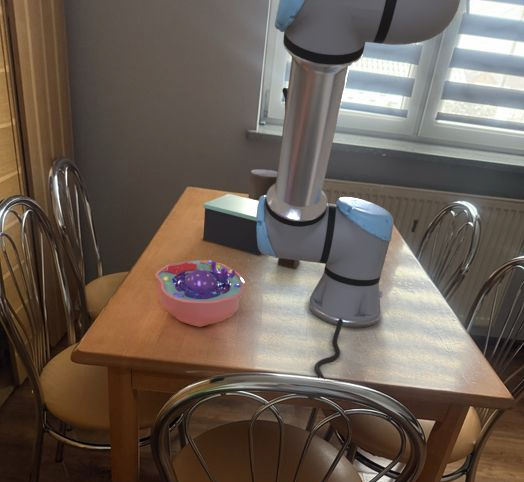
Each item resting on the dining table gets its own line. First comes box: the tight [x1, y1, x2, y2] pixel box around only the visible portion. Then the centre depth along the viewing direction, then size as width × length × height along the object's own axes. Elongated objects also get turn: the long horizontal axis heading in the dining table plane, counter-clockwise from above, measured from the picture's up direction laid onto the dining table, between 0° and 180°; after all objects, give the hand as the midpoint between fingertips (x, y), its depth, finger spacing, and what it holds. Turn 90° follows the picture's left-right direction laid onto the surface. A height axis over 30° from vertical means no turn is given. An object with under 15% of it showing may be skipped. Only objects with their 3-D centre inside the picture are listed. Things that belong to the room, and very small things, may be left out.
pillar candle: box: [247, 169, 278, 201], centre depth 159 cm, size 10×10×15 cm
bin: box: [202, 208, 262, 256], centre depth 139 cm, size 14×17×9 cm
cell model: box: [154, 259, 246, 328], centre depth 97 cm, size 17×20×11 cm
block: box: [277, 258, 301, 269], centre depth 129 cm, size 4×4×4 cm
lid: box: [202, 193, 259, 221], centre depth 136 cm, size 14×17×4 cm
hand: (298, 166), depth 126 cm, fingers closed
